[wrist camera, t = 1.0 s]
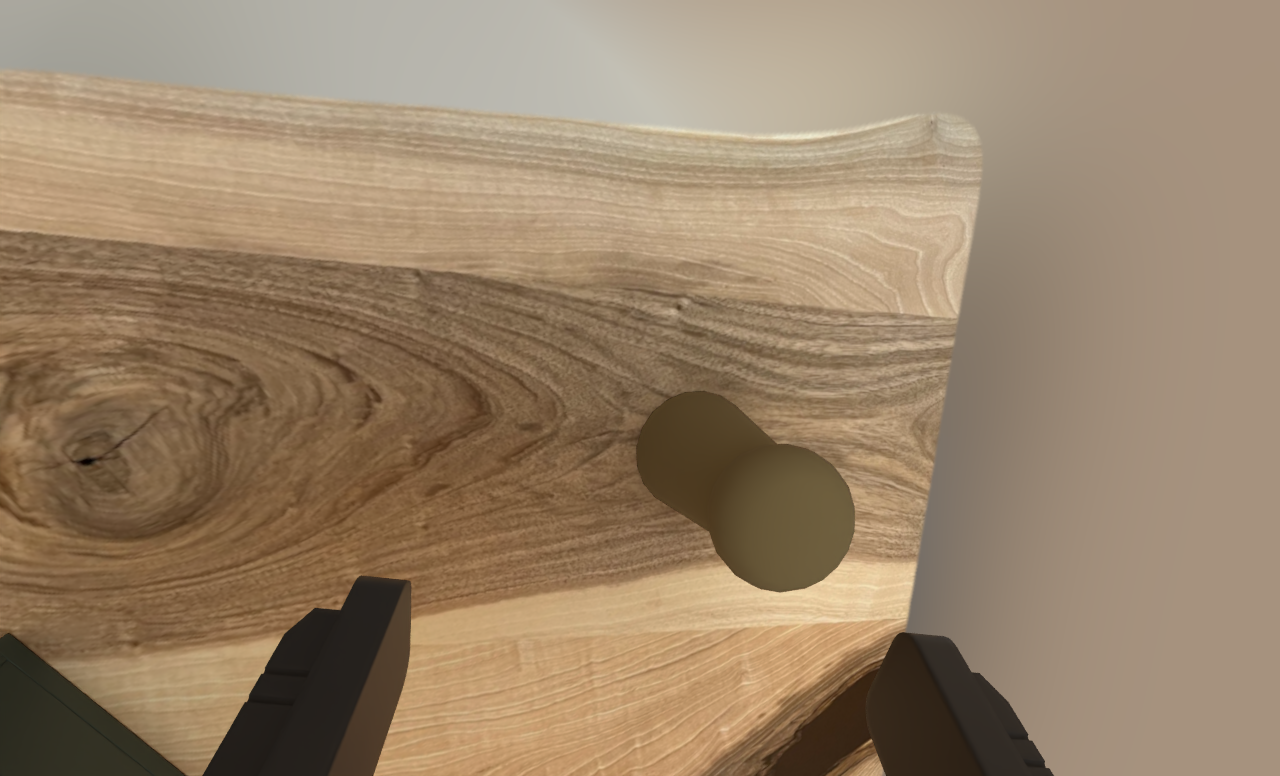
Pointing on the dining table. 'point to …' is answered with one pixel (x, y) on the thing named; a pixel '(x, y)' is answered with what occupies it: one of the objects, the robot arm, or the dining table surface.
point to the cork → (747, 491)
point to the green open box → (62, 726)
